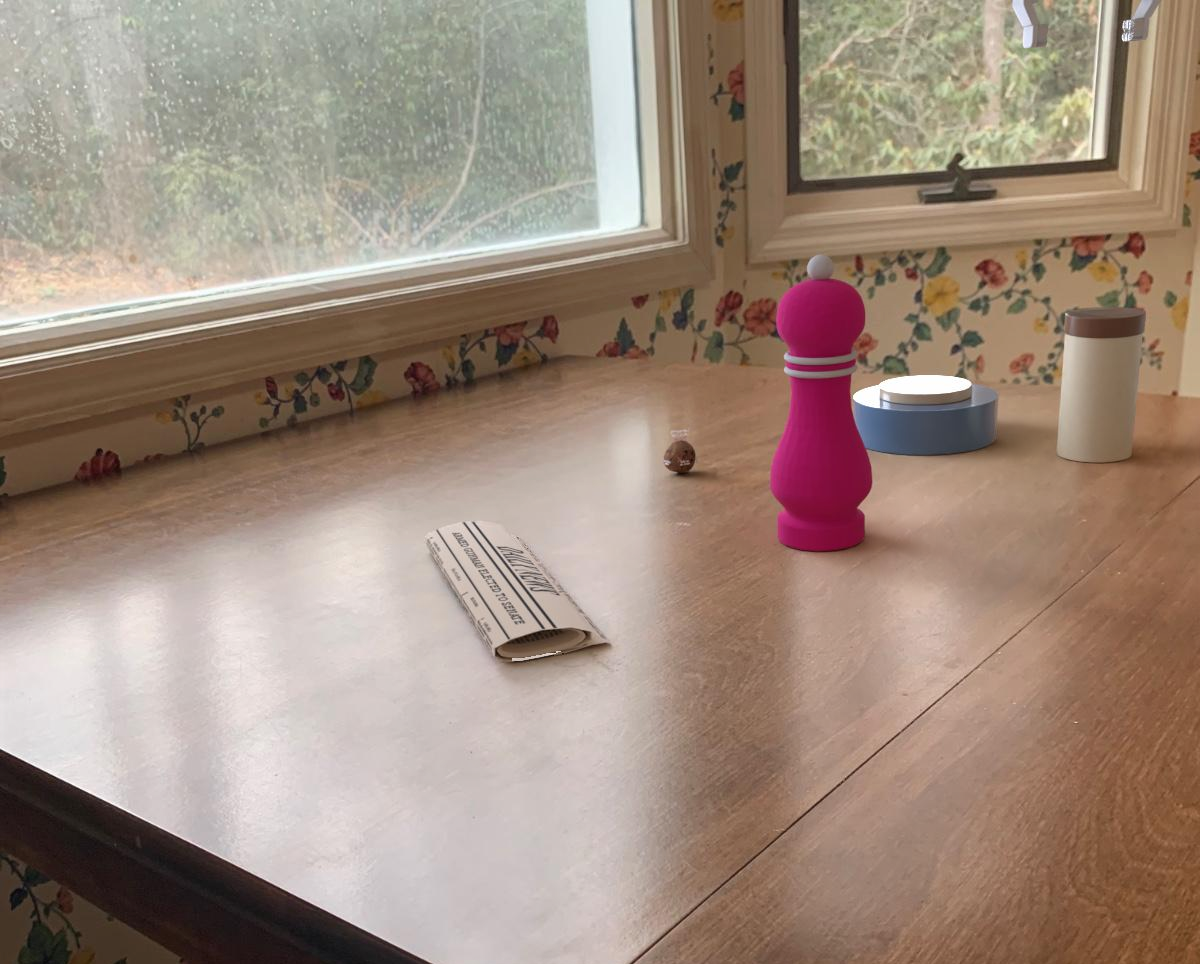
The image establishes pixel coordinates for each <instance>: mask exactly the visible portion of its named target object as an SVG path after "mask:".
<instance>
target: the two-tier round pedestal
mask: <svg viewBox="0 0 1200 964" xmlns="http://www.w3.org/2000/svg"><path fill="white" fill-rule="evenodd" d="M999 396H1000V395H999V393H998V392H997V391H996V390H994V389H993V388H990V387H988V386H984V385H980V384H976V383H975V384H974V383H973V382H971V381H970V380H967V379H965V378H963V377H962V378H961V377H955V376H947V375H911V376H910V375H909V376H902V377H901V376H900V377H895V378H890V379H887V380H885V381H882V382H880V383H879V384H878V385H873V386H870V387H866V388H863V389H861V390H859V391H857V392H856V393H854V394H853V396H852V411H853V416H854V420H855V423H856V426H857V429H858V431H859V434H860V436H861V438H862V441H863V443H864V445H865V448H866V450H867V449H868V450H871V451H874V452H880V453H885V454H886V453H887V454H893V455H905V456H907V455H908V456H938V455H939V456H941V455H953V454H961V453H967V452H972V451H977V450H979V449H980V450H981V449H983V448H986V447H988V446H990V445H992V444H993V443H995V442H996V440H997V432H998V413H999Z"/></svg>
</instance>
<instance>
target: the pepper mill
mask: <svg viewBox="0 0 1200 964" xmlns="http://www.w3.org/2000/svg"><path fill="white" fill-rule="evenodd" d="M834 270H835V265H834V262H833V260H832V259H831V258H830V257H829V256H828V255H825V254H816V255H815V256H813V257H812V258H810V259H809V262H808V263H807V267H806V272H807V275H808V277H809V279H806V280H803V281H800V282H798V283H796V284H795V285H793V286H792V287H790V288H789V289H788V290H787V291H786V292H785V293H784V294H783V295H782V297H781V300H780V301H779V303H778V306H777V310H776V317H775V318H776V319H775V321H776V322H775V325H776V331H777V333H778V335H779V337H780V339H781V340H782V341H783V342H784V343H785V344H786V345H787V347H788V351H786V352H785V353H784V354H783V359H784V360H785V366H784V368H783V371H784V373H785V375H786V376H789V381H790V402H789V403H790V404H789V411H788V415H787V416H788V417H787V419H786V420H787V421H786V424H785V427H784V430H783V432H782V435H781V438H780V440H779V443H778V445H777V448H776V450H775V452H774V455H773V459H772V463H771V467H770V479H769V489H770V491H771V495H773V498H775V499H776V501H777V502H778V503H779V504H780V505H781V506H782V507H783V508H784V509H782V510H781V511H780V512H779V513H778V515H777V518H776V520H777V523H776V524H777V525H776V526H777V539H778V541H779V542H780V543H781V544H783V545H784V546H786V547H788V548H792V549H796V550H800V551H808V552H809V551H810V552H830V551H839V550H844V549H845V550H846V549H849V548H851V547H854V546H857V545H859V544H860V543H862V542H863V540H864V539H865V535H866V516H865V515H866V514H865V513H864V511H863V510H861V509H859V508H858V507H859V506H860V505H861V504H862V503H863V502H864V500H866V498H867V497H868V496H869V494H870V492H871V491H872V488H873V470H872V469H873V468H872V464H871V461H870V457H869V452H868V451H867V448H865V445H864V443H863V441H862V438H861V436H860V434H859V431H858V429H857V426H856V423H855V420H854V416H853V405H852V395H851V389H852V388H851V387H852V386H851V385H852V376H853V375H852V374H854V373H856V372H857V370H858V367H859V366H858V365H857V357H858V356H859V354H858V351H857V350H856V349H855V348H853V346H854V344H855V343H856V342H857V340H858V339H859V337H860V336H861V335H862V333H863V332H864V329H865V326H866V308H865V303H864V301H863V297H862V295H861V294H860V293H859V291H858V290H857V289H856V288H855V287H854V286H853V285H851V284H850V283H847V282H846V281H844V280H841V279H837V278H832V276H833V274H834Z"/></svg>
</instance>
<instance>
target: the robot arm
mask: <svg viewBox="0 0 1200 964" xmlns="http://www.w3.org/2000/svg"><path fill="white" fill-rule="evenodd" d="M1161 1H1162V0H1141V1H1140V3H1139V5H1138V7H1137V9H1136V10H1135V12H1134V15H1133V16H1132V18H1131V19H1125V20H1123V23H1122V30H1123V32H1122V35H1121V39H1122V41H1123V42H1141V41H1146V40H1147V39H1148V36H1149V29H1150V19H1151V18H1152V16H1153V14H1154V13H1155V11H1156V10H1157V8H1158V7H1159V5H1160V3H1161ZM1038 2H1039V0H1012V5H1011V6H1012V9H1013V11H1014V13H1015V15H1016V17H1017V19H1018V22H1019V23H1020V25H1021V27H1022V28H1023V31H1022V33H1023V34H1022V46H1023V49H1035V48H1044V47H1046V46H1047V45H1048V40H1049V38H1048V34H1049V25H1050V24H1049V23H1046V24H1045V23H1044V24H1042V23H1041V22H1040V20H1039V17H1038V15H1037V12H1036V11H1035V10H1036V9H1035V8H1034V6H1033V4H1038Z"/></svg>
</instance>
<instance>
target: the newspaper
mask: <svg viewBox="0 0 1200 964" xmlns="http://www.w3.org/2000/svg"><path fill="white" fill-rule="evenodd" d="M514 534H515V533H509V532H508V531H507V530H506V529H505V528H504V526H503V525H502V524H500V523H497V522H491V521H487V520H475V521H474V520H473V521H472V520H471V521H459V522H456V523H455V522H454V523H452V524H449V525H445V526H442V527H439V528H436V529H433V530H432V531H430V532H428V533H426V534H425V535H424V537H423V538H424V544H425V546H426V547H427V549H428V551H429V552H430V554H431V556H432V557H433V559H434V562H436V564H437V566H438V567H439V569H440V570H441V572H442V574H443V575H444V577H445V579H446V580H447V582H448V584H449V586H450V587H451V589H452V590H453V593H454V594H455V595H456V597H457V598H458V600H459V601H460V603H461V605H462V607H463V608H464V610H465V611H466V613H467V615H468V616H469V618H470V620H471V621H472V623H473V625H474V627H475V628H476V629H477V631H478V633H479V635H480V636H481V638H482V640H483V641H484V642H485V644H486V646H487V647H488V649H489V651H490V652H491V654H492V656H493V657H494V658H495V659H497V660H500V661H502V662H507V663H509V662H510V663H514V661H512V658H525V657H531V656H536V655H542V654H546V653H556V651H561V652H558V653H556V654H553V655H554V656H559V655H563V654H562V653H564V654H567V653H570V652H574V651H577V650H579V649H580V650H581V649H584V648H587V647H590V646H595V645H599V644H600V645H601V644H605V643H606V644H611V642H610V640H609V639H607V637H606V636H605V635H604V634H603V633H602V631H600V629H599V628H598V627H597V626H596V625H595V624H594V622H593V621H592V620H591V619H590V618H589V617H588V616H587V614H586V613H585V612H584V611H583V610H582V608H581V607H580V606H579V604H577V603H576V602H575V600H574V599H573V598H572V597H571V596H570V594H569V593H567V591H566V590H565V589H564V587H562V585H561V584H560V583H559V582H558V581H557V580H556V579H555V578H554V576H553V575H552V574H551V573H550V572H549V571H548V569H547V568H546V567H545V566H544V565H543V564H542V562H540V560H539V559H538V558H537V556H535V555H534V554H533V555H534V556H533V555H532V554H531V552H532V551H531V550H530V549H529V548H528V547H527V546H526V547H527V548H528V549H529V550H530V551H531V552H530V551H529V550H528V549H527V548H526V547H525V545H526V544H525V543H524V542H523V541H522V540H521V539H520V538H519V539H520V540H521V541H522V542H523V543H524V544H525V545H524V544H523V543H522V542H521V541H520V540H519V539H518V538H517V537H516V536H515V535H514ZM536 558H537V559H538V560H539V561H538V560H537V559H536Z"/></svg>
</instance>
